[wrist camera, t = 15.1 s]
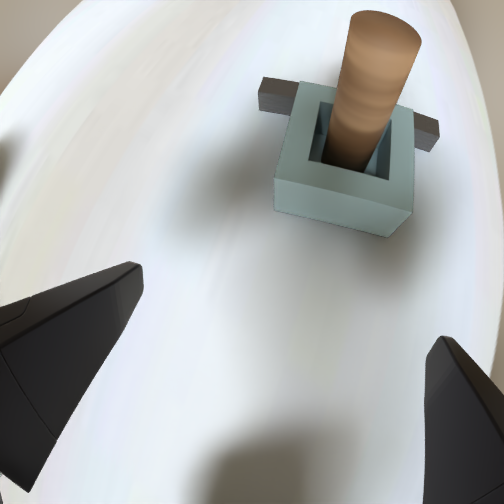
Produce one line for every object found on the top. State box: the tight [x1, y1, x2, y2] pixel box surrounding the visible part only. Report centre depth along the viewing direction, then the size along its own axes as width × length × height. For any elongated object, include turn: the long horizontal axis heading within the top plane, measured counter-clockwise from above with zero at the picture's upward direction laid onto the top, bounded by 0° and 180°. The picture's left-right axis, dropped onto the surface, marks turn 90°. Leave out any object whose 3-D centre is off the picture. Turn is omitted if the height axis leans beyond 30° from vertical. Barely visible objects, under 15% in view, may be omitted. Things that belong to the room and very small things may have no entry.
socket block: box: [274, 81, 414, 238], centre depth 22 cm, size 9×9×5 cm
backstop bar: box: [258, 77, 440, 152], centre depth 25 cm, size 2×16×2 cm, turn 75°
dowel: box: [321, 10, 422, 173], centre depth 18 cm, size 4×4×13 cm
